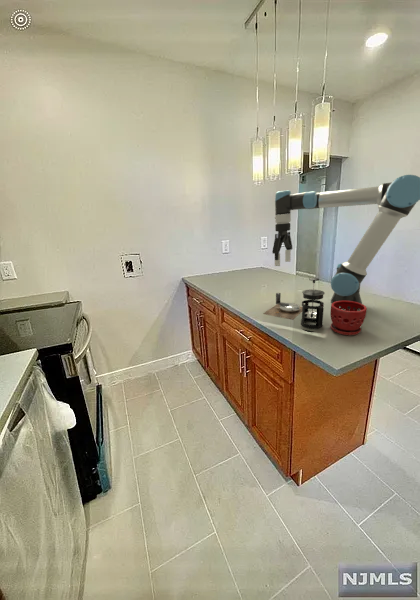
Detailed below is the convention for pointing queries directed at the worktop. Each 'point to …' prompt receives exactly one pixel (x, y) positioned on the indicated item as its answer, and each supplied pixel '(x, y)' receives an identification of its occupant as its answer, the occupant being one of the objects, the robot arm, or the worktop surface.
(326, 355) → the worktop surface
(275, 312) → the board
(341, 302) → the plant pot
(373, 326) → the worktop surface
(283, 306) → the silver dish with post
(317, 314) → the french press
